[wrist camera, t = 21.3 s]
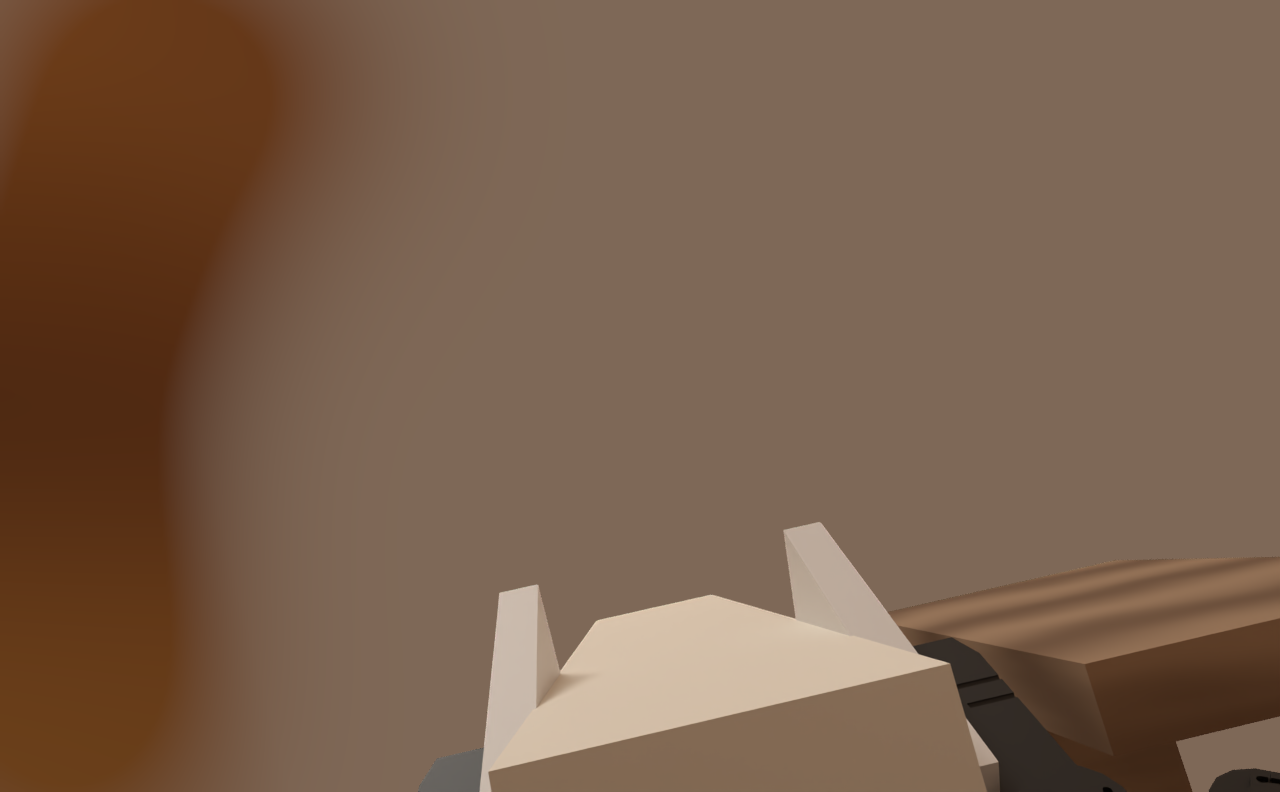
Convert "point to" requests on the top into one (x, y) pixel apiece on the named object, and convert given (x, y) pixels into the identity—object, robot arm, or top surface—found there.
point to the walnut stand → (1127, 655)
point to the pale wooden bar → (740, 711)
